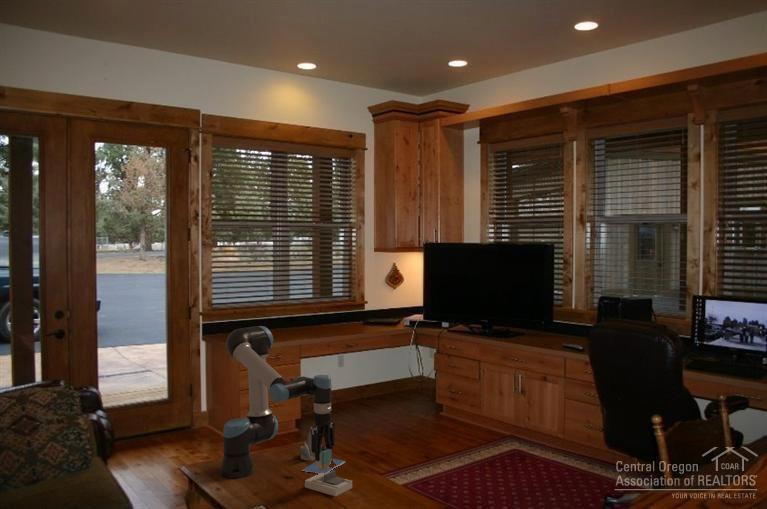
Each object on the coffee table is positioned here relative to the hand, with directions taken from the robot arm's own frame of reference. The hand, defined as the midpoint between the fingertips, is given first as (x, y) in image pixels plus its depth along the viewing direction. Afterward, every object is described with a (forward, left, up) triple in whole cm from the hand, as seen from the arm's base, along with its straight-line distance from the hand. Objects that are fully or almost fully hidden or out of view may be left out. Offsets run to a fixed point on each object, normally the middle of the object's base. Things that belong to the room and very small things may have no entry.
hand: (323, 465), depth 275 cm
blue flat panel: (-15, +18, -10) cm, 25 cm away
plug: (0, 0, -1) cm, 1 cm away
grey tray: (+3, 0, -9) cm, 9 cm away
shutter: (+6, 0, -6) cm, 8 cm away
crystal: (-29, +24, -9) cm, 39 cm away
